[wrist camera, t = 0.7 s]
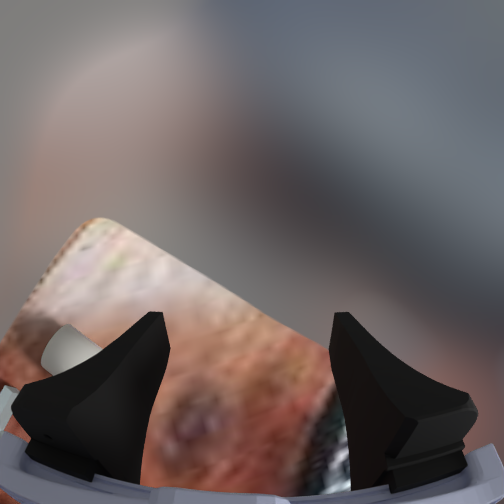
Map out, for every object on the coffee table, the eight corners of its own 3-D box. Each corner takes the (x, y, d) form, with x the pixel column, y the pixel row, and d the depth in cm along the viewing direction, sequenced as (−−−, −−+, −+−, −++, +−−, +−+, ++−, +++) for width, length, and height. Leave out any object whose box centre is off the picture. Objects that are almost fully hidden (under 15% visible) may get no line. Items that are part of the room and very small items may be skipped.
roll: (108, 414, 24) (102, 415, 20) (49, 370, 23) (34, 362, 19) (133, 373, 27) (132, 366, 22) (75, 331, 26) (65, 317, 22)
